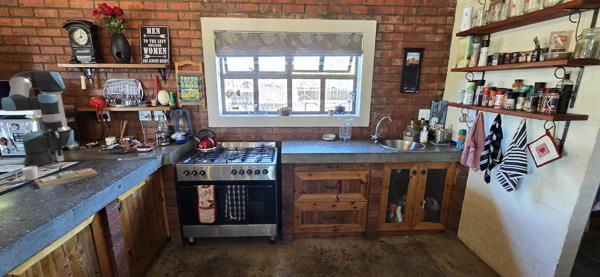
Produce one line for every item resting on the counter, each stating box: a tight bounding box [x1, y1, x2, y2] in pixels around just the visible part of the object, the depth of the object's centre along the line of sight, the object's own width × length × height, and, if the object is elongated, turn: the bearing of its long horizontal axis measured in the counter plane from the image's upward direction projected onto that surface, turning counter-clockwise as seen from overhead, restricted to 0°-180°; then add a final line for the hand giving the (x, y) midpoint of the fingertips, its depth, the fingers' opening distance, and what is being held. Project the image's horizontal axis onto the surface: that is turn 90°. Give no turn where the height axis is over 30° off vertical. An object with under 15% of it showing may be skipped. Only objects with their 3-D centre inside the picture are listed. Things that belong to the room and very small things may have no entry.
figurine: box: [118, 138, 137, 156], centre depth 209 cm, size 10×10×12 cm
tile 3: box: [75, 168, 91, 175], centre depth 158 cm, size 6×6×3 cm
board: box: [33, 167, 99, 190], centre depth 151 cm, size 13×26×2 cm, turn 145°
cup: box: [15, 166, 39, 182], centre depth 148 cm, size 7×10×8 cm
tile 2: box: [57, 170, 75, 179], centre depth 151 cm, size 6×6×3 cm
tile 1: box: [39, 175, 57, 183], centre depth 145 cm, size 6×6×3 cm
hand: (60, 160), depth 148 cm, fingers closed
